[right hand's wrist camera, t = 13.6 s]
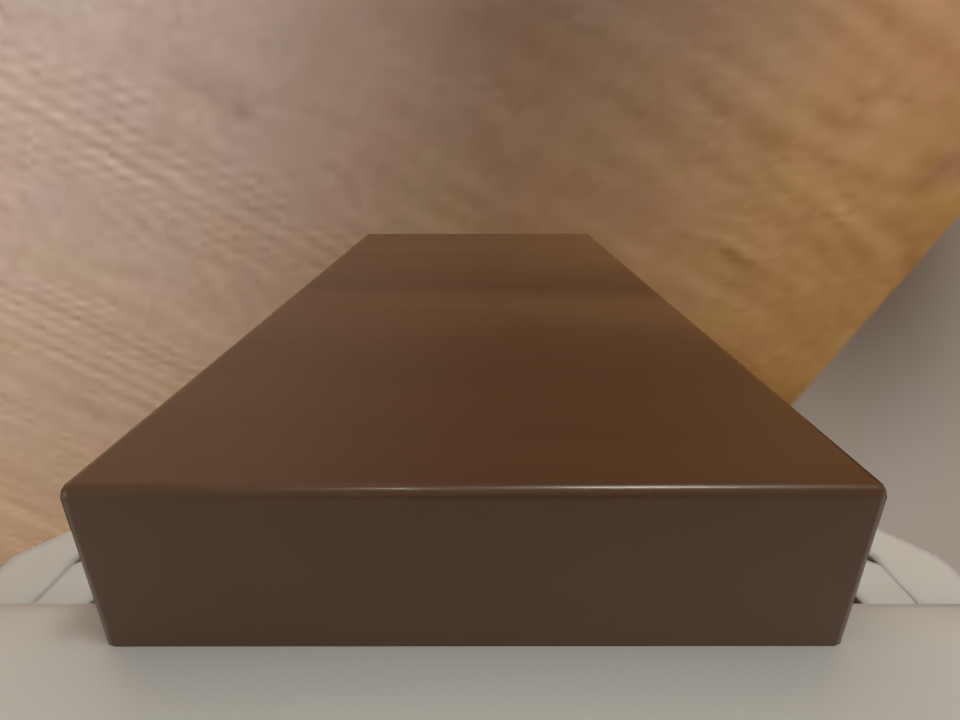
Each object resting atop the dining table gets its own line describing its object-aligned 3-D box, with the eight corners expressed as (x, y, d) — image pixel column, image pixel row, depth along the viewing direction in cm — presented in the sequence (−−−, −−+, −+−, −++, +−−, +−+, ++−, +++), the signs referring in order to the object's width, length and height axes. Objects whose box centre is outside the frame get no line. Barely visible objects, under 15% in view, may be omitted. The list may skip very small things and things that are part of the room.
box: (367, 233, 15) (48, 489, 4) (588, 233, 15) (896, 487, 4) (404, 744, 22) (332, 1327, 11) (552, 744, 22) (624, 1327, 11)
